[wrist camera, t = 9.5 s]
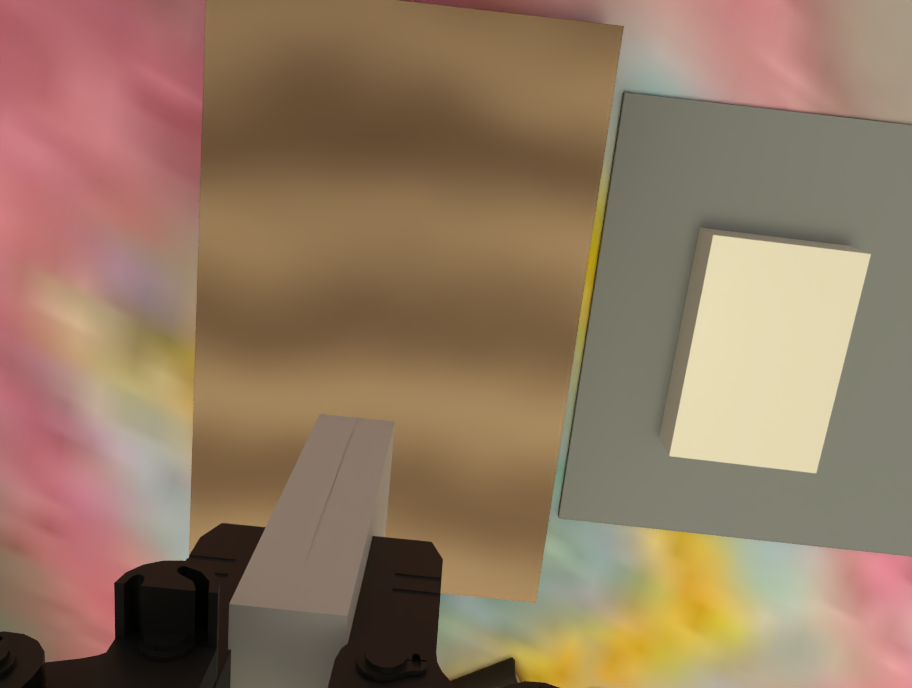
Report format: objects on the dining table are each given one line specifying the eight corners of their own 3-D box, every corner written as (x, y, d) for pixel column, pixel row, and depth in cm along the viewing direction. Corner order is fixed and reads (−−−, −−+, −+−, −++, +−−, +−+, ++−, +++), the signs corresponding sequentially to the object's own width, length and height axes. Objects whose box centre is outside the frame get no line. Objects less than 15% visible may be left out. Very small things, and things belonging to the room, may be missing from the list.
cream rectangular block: (871, 254, 33) (848, 245, 35) (713, 234, 33) (699, 227, 35) (816, 473, 35) (798, 454, 37) (669, 455, 35) (658, 437, 37)
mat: (623, 92, 34) (625, 92, 33) (1033, 139, 34) (1038, 139, 34) (557, 515, 38) (558, 518, 38) (916, 553, 39) (920, 557, 38)
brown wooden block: (238, -8, 33) (206, -22, 29) (605, 34, 33) (623, 26, 29) (216, 519, 39) (188, 565, 35) (529, 553, 39) (536, 603, 35)
